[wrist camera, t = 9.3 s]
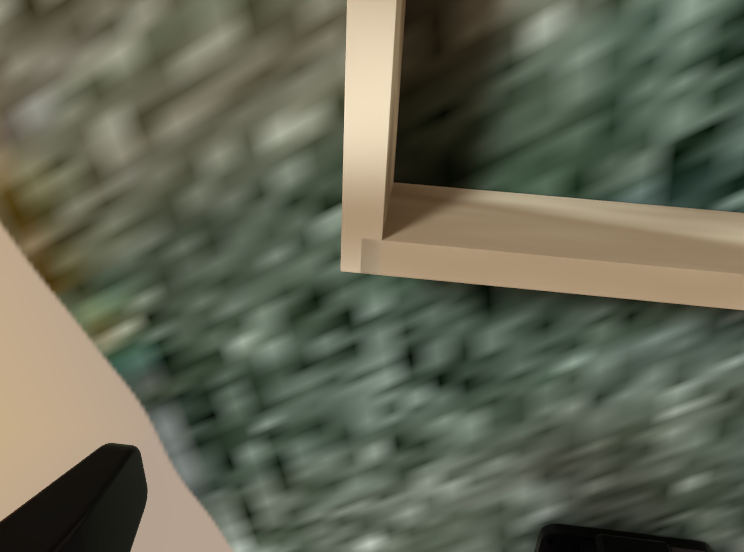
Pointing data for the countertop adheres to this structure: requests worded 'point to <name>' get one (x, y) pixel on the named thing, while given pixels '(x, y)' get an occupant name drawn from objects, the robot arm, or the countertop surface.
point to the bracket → (509, 211)
